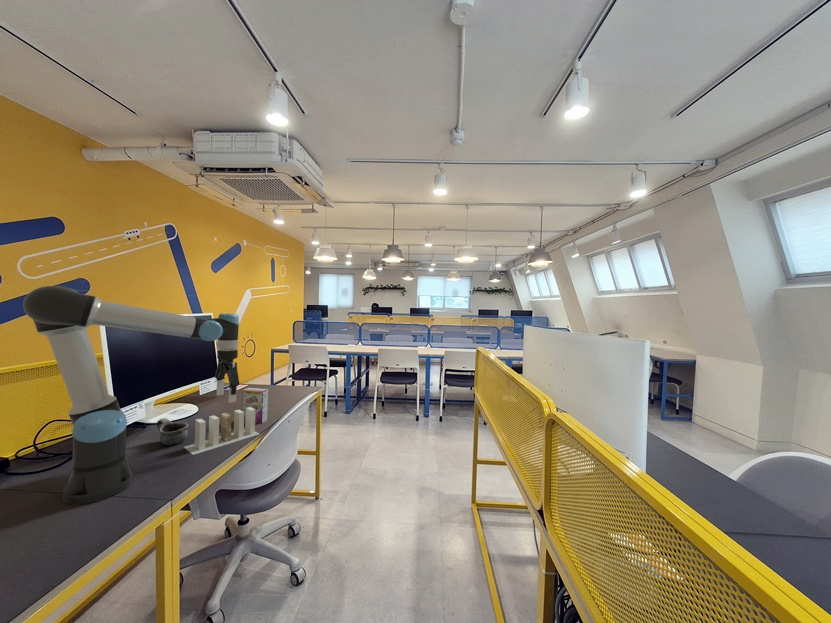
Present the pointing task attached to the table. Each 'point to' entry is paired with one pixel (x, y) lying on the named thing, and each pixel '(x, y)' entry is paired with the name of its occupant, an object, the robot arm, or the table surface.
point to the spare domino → (226, 427)
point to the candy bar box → (256, 403)
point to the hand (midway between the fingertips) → (226, 398)
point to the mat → (208, 446)
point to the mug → (172, 431)
